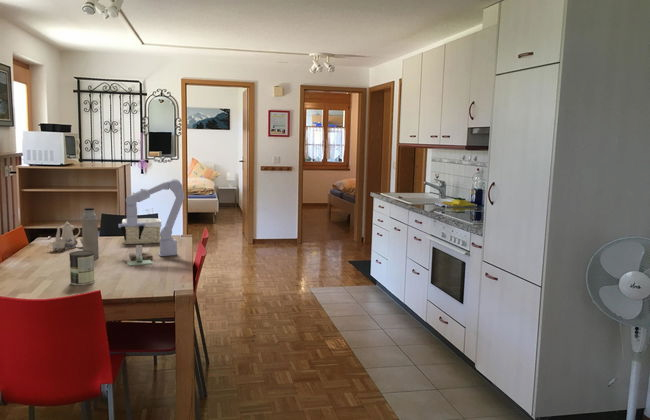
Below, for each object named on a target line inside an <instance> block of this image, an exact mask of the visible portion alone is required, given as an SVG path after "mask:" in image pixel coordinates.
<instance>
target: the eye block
mask: <svg viewBox="0 0 650 420" xmlns="http://www.w3.org/2000/svg"><path fill="white" fill-rule="evenodd" d="M128 256H129V261H136V252H131V253H130V252H129V255H128ZM142 260H151V261H153V260H154V259H153V254H152V253H151V252H150V251H146V252H145V251H144V252H143V251H142Z"/></svg>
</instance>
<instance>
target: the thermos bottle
mask: <svg viewBox="0 0 650 420" xmlns="http://www.w3.org/2000/svg"><path fill="white" fill-rule="evenodd" d="M98 225H99V224H98V217H97V214H96V213H95V208H93V207H86V208H84V212H83V214H82V218H81V234H82V235H81V237H82V241H83V245H82V251H84V250H87V251H93V252H94V260H96V259H99V256H100V254H99V253H100V252H99V226H98Z"/></svg>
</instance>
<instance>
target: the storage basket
mask: <svg viewBox="0 0 650 420" xmlns="http://www.w3.org/2000/svg"><path fill="white" fill-rule="evenodd" d="M124 223H127V218H123V219H122V220H121V224H124ZM137 223H146V226H145V227H144V229H143V231H142V234H141V239H139V227H125V228H126V240H125V239H124V238H123V240H124V241H123V242H124V244H125V245H141V244H144V245H145V244H146V245H148V244H160V238H161V237H160V232H161V230H162V220H161V218H155V217H153V218H152V217H151V218H150V217H149V218H145V217H144V218H137Z"/></svg>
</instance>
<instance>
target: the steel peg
mask: <svg viewBox="0 0 650 420" xmlns="http://www.w3.org/2000/svg"><path fill="white" fill-rule="evenodd" d="M142 252H143V245H141V244H135V253H136V262H137V263H140V262H143V260H142Z"/></svg>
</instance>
